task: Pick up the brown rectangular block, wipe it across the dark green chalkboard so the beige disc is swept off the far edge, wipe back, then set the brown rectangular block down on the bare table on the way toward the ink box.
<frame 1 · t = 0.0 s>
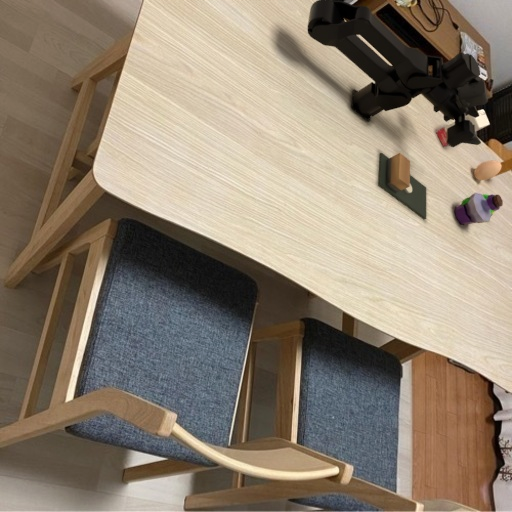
hand: (478, 129, 143), 17 cm above the table, tool horizontal, fingers open, 9 cm apart
supplement box: (485, 175, 178), on the table
ink box: (444, 137, 168), on the table
chalkboard: (402, 186, 144), on the table
beige disc: (406, 187, 144), point 1 cm above the table, touching chalkboard
egg: (474, 175, 173), on the table
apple: (478, 209, 167), on the table
brown rectangular block: (391, 176, 141), point 1 cm above the table, touching chalkboard
potion bottle: (459, 216, 159), on the table
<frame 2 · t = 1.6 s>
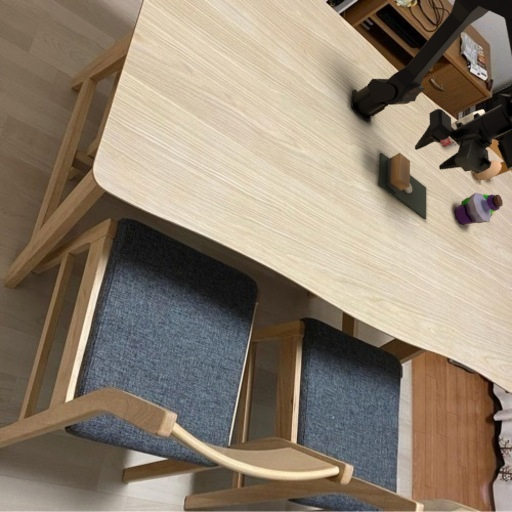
hand: (427, 158, 133), 11 cm above the table, tool pointing down, fingers open, 9 cm apart
nothing on the table moved.
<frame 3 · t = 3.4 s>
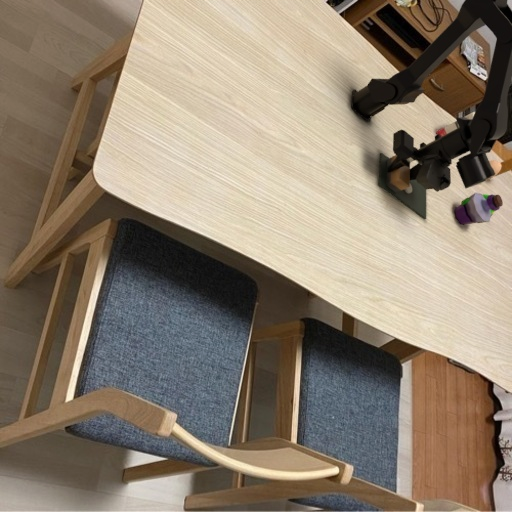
hand: (393, 175, 140), 1 cm above the table, tool pointing down, fingers closed on brown rectangular block, 4 cm apart
brown rectangular block: (391, 176, 141), point 1 cm above the table, touching chalkboard, gripper
everything else where it was.
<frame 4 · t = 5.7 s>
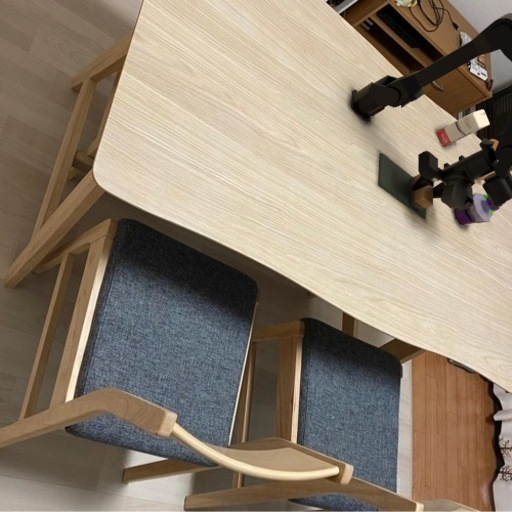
hand: (416, 193, 145), 1 cm above the table, tool pointing down, fingers closed on brown rectangular block, 4 cm apart
beige disc: (423, 200, 147), point 1 cm above the table, touching gripper
brown rectangular block: (415, 194, 145), point 1 cm above the table, touching gripper
everything else where it was.
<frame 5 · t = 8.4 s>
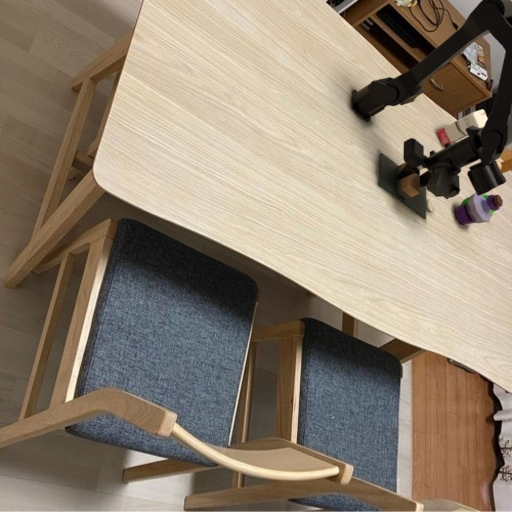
hand: (402, 182, 142), 1 cm above the table, tool pointing down, fingers closed on brown rectangular block, 4 cm apart
beige disc: (428, 205, 148), on the table, tilted 12°, touching chalkboard
brown rectangular block: (401, 182, 142), point 1 cm above the table, touching gripper
everything else where it was.
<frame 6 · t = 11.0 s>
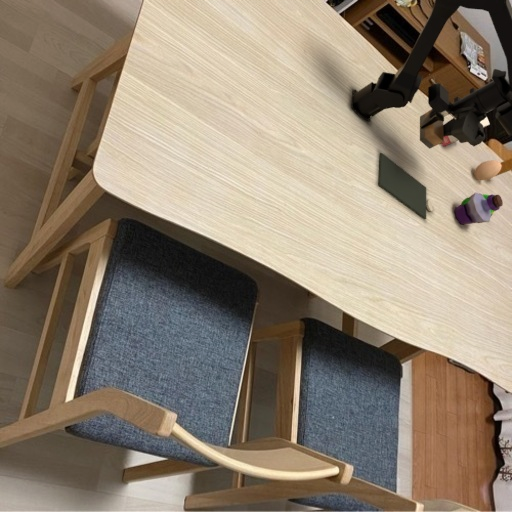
hand: (425, 131, 141), 9 cm above the table, tool pointing down, fingers closed on brown rectangular block, 4 cm apart
brown rectangular block: (424, 132, 141), point 9 cm above the table, touching gripper
everything else where it was.
when the fingers open (0 cm above the table, at t = 13.4 s): brown rectangular block stays where it is, on the table.
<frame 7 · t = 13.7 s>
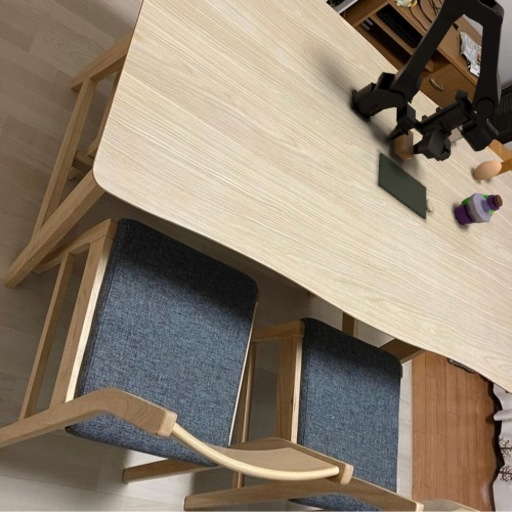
hand: (396, 147, 147), 0 cm above the table, tool pointing down, fingers open, 7 cm apart
brown rectangular block: (395, 147, 148), on the table
everything else where it was.
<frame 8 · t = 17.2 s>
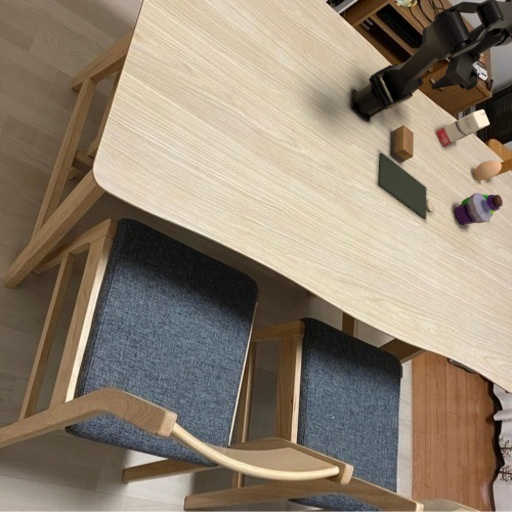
hand: (420, 77, 142), 12 cm above the table, tool pointing down, fingers open, 9 cm apart
nothing on the table moved.
at the end: beige disc inside the target area on the table beside the chalkboard (6.9 cm from its centre), on the table; brown rectangular block inside the target area on the table beside the ink box (0.0 cm from its centre), on the table; the gripper is holding nothing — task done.
